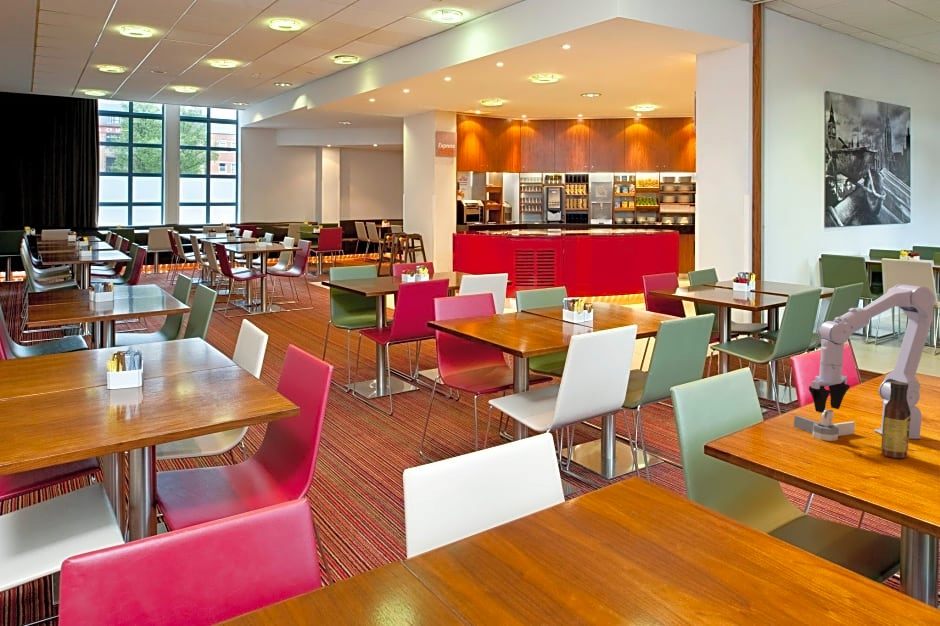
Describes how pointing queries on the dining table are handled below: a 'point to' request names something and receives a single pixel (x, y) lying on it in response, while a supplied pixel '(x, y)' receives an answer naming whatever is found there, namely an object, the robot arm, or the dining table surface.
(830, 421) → the hinge pin
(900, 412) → the sauce bottle
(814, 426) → the hinge
